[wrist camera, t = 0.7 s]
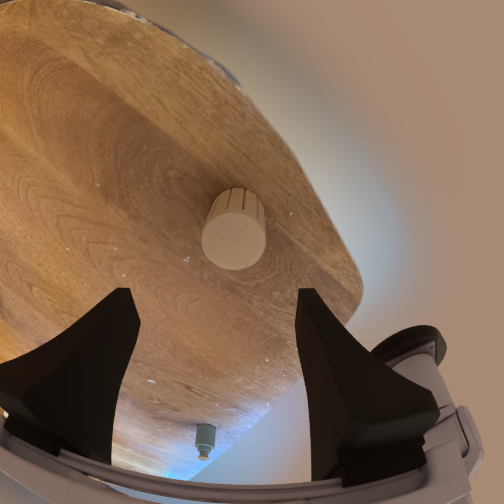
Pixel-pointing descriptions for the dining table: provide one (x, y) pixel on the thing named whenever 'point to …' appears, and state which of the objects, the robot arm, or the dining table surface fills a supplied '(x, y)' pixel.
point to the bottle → (205, 440)
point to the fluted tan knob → (235, 230)
